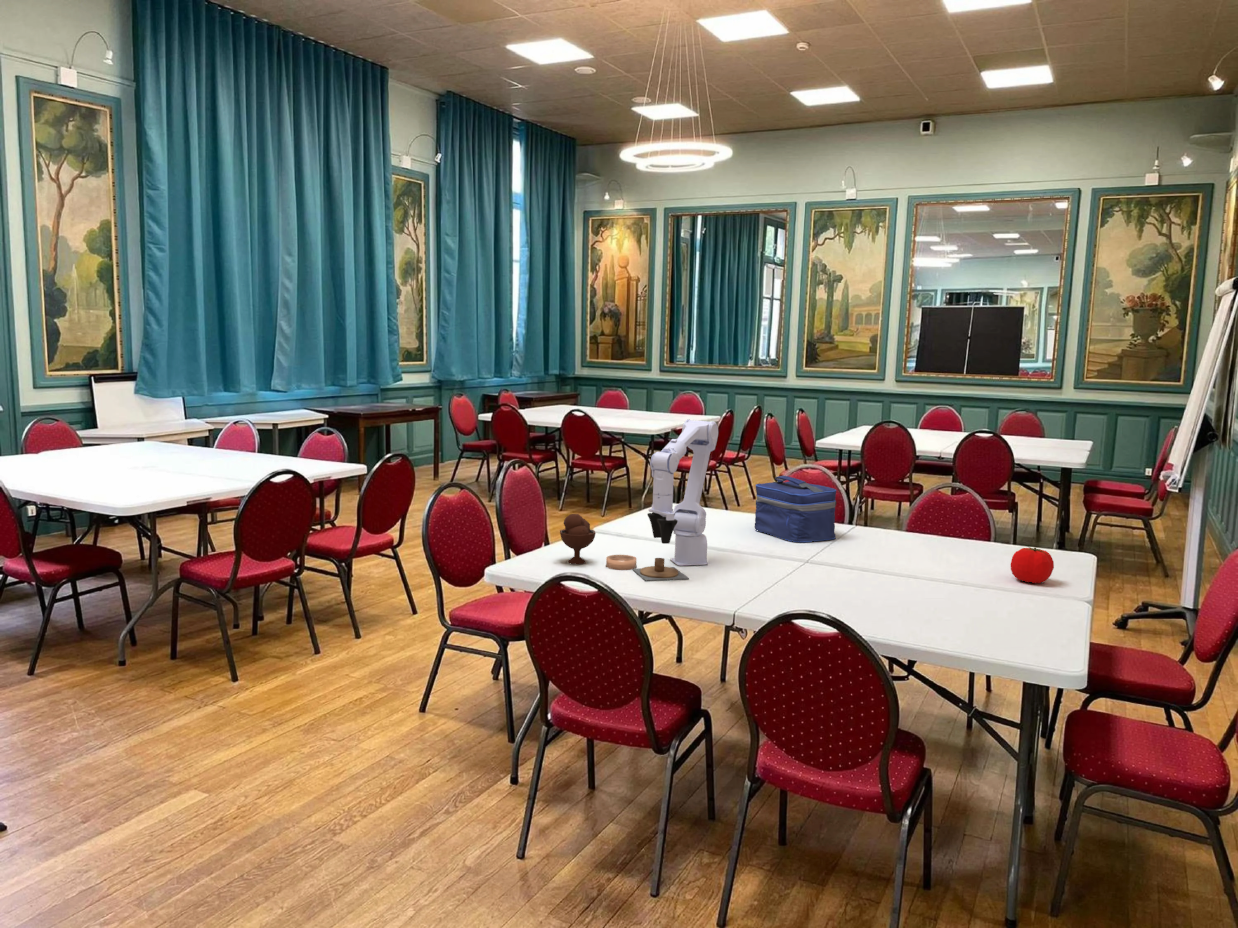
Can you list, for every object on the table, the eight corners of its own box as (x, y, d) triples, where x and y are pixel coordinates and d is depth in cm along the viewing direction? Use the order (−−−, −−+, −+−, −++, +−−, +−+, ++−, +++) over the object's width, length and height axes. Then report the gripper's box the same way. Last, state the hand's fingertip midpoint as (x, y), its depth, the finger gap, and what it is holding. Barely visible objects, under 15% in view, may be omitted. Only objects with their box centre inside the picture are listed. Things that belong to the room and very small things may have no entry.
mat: (674, 568, 272) (674, 567, 272) (689, 579, 260) (689, 578, 260) (632, 570, 269) (632, 568, 269) (645, 581, 256) (645, 579, 256)
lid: (673, 568, 270) (674, 554, 270) (681, 578, 259) (682, 563, 259) (637, 568, 269) (637, 554, 268) (643, 578, 258) (644, 563, 257)
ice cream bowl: (590, 567, 270) (592, 517, 268) (554, 564, 272) (555, 515, 270) (598, 559, 280) (599, 511, 278) (563, 557, 282) (564, 509, 281)
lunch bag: (742, 528, 336) (744, 473, 334) (786, 523, 347) (789, 470, 344) (798, 545, 310) (801, 485, 307) (844, 540, 320) (847, 482, 318)
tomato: (1025, 587, 262) (1028, 552, 260) (1001, 577, 273) (1003, 543, 272) (1061, 586, 264) (1065, 551, 263) (1036, 576, 275) (1039, 542, 274)
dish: (631, 562, 278) (631, 554, 278) (639, 569, 270) (640, 561, 269) (602, 563, 276) (603, 555, 276) (610, 570, 267) (610, 562, 267)
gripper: (642, 489, 267) (640, 535, 269) (657, 498, 253) (655, 546, 255) (665, 489, 269) (663, 534, 271) (681, 497, 255) (679, 545, 257)
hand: (661, 540), depth 263 cm, fingers open, 7 cm apart
